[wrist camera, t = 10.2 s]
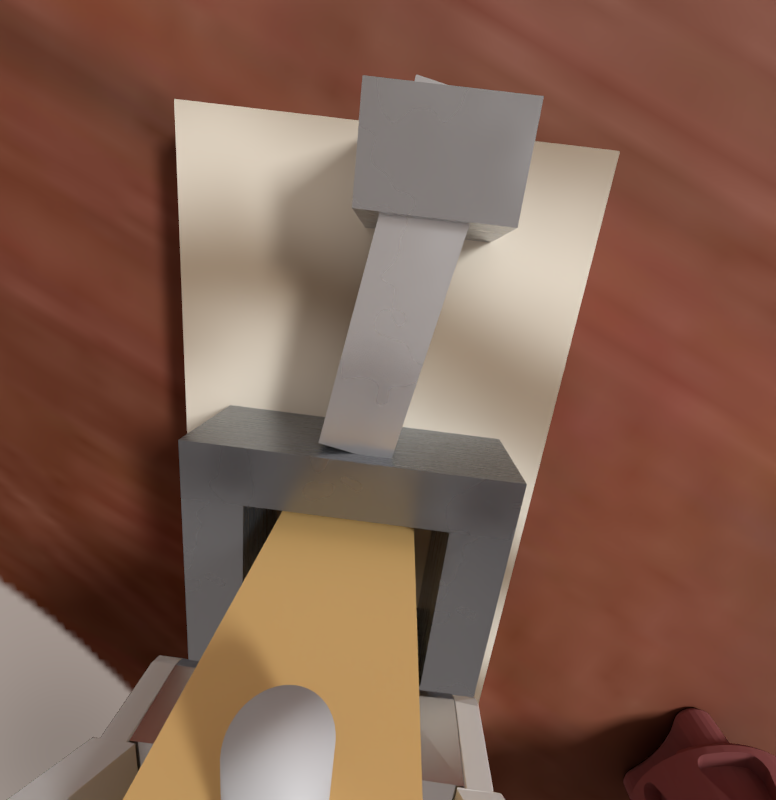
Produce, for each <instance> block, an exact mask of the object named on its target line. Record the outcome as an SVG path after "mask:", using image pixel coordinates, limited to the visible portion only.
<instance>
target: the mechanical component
mask: <svg viewBox="0 0 776 800" xmlns="http://www.w3.org/2000/svg"><path fill="white" fill-rule="evenodd" d="M623 783H624V786H625V788H626V791H627V793H628V795H629V798H630V800H776V756H774V755H772V754H770V753H767V752H765V751H763V750H760V749H757V748H753V747H750V746H746V745H739V744H732V743H729V742H728V740H727V739H726V738H725V736H724V735H723V733H722V732H721V730H720V729H719V728H718V726H717V725H716V723H715V722H714V721H713V719H712V718H711V716H710V715H709V714H708V713H707V712H705V711H702V710H699V709H696V708H689V709H685V710H682V711H681V712H679V713H678V714H677V715H676V717H675V719H674V722H673V725H672V728H671V730H670V732H669V734H668V736H667V738H666V739H665V741H664V742H663V743H662V745H661V746H660V747H659V748H658V749H657V750H656V751H655V752H654V753H653V754H652V755H651V756H650V757H649V758H647V759H646V760H645V761H644V762H642V763H641V764H639V765H637V766H636V767H634V768H633V769H631V770H629V771H628V772H627V773H626V775H625V777H624V780H623Z"/></svg>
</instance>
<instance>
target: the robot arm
mask: <svg viewBox="0 0 776 800" xmlns="http://www.w3.org/2000/svg"><path fill="white" fill-rule="evenodd" d="M198 663H199V661H195V660H189V659H183V658H177V657H169V656H162V655H159V656H158V657H157V658H156V659H155V660H154V661H153V662H152V663H151V664H150V666H149V667H148V668H147V670H146V671H145V673H144V674H143V676H142V677H141V679H140V680H139V682H138V683H137V685H136V686H135V687H134V689H133V690H132V692H131V693H130V695H129V696H128V698H127V699H126V701H125V702H124V704H123V705H122V706H121V708H120V709H119V711H118V712H117V714H116V715H115V717H114V718H113V720H112V721H111V723H110V724H109V726H108V727H107V729H106V730H105V731H104V733H103V734H102V736H101V737H100V738H94V737H92V738H91V739H90V740H88V741H87V742H86V743H84V744H83V745H81V746H80V747H79V748H77V749H76V750H74V751H73V752H72V753H70V754H69V755H68V756H66V757H65V758H63V759H62V760H61V761H59V762H58V763H57V764H55V765H54V766H52V767H51V768H50V769H48V770H47V771H46V772H44V773H43V774H41V775H40V776H39V777H37V778H36V779H35V780H33V781H32V782H30V783H29V784H28V785H26V786H25V787H24V788H22V789H21V790H19V791H18V792H17V793H16V794H14V795H13V796H11V797H10V798H9V799H7V800H123V798H124V796H125V794H126V793H127V791H128V789H129V787H130V785H131V784H132V782H133V780H134V778H135V776H136V775H137V773H138V771H139V769H140V767H141V766H142V764H143V762H144V760H145V758H146V757H147V755H148V753H149V751H150V749H151V748H152V746H153V744H154V742H155V740H156V738H157V737H158V735H159V733H160V731H161V729H162V728H163V726H164V724H165V722H166V720H167V719H168V717H169V715H170V713H171V711H172V710H173V708H174V706H175V704H176V702H177V701H178V699H179V697H180V695H181V693H182V692H183V690H184V688H185V686H186V684H187V682H188V681H189V679H190V677H191V675H192V673H193V672H194V670H195V668H196V666H197V664H198ZM419 703H420V735H421V766H422V797H423V800H505V799H504V797H503V795H502V794H501V793H497V792H494V791H493V785H492V779H491V774H490V768H489V762H488V757H487V751H486V745H485V740H484V734H483V728H482V723H481V717H480V711H479V706H478V702H477V700H476V698H474V697H467V696H458V695H452V694H449V693H441V692H432V691H423V690H419Z"/></svg>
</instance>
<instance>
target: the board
mask: <svg viewBox="0 0 776 800" xmlns="http://www.w3.org/2000/svg"><path fill="white" fill-rule="evenodd" d="M174 107H175V133H176V159H177V184H178V210H179V236H180V261H181V287H182V313H183V339H184V364H185V390H186V416H187V434H188V433H189V432H191V431H192V430H194V429H195V428H197V427H198V426H200V425H201V424H203V423H204V422H206V421H207V420H209V419H210V418H212V417H213V416H215V415H216V414H218V413H219V412H221V411H222V410H224V409H225V408H227V407H228V406H230V405H233V406H241V407H249V408H257V409H265V410H273V411H281V412H289V413H297V414H305V415H312V416H320V417H325V416H326V412H327V409H328V405H329V401H330V397H331V394H332V390H333V386H334V382H335V379H336V375H337V371H338V367H339V364H340V360H341V356H342V352H343V348H344V345H345V341H346V337H347V333H348V330H349V326H350V322H351V318H352V315H353V311H354V307H355V303H356V300H357V296H358V292H359V288H360V284H361V281H362V277H363V273H364V269H365V266H366V262H367V258H368V254H369V251H370V247H371V243H372V239H373V236H374V232H375V229H372V228H365V226H364V225H363V223H362V222H361V221H360V219H359V218H358V216H357V215H356V213H355V212H354V210H353V209H352V200H353V188H354V176H355V163H356V151H357V139H358V126H359V121H358V120H349V119H341V118H332V117H324V116H315V115H307V114H298V113H289V112H281V111H272V110H264V109H255V108H247V107H238V106H230V105H221V104H212V103H204V102H195V101H187V100H178V99H174ZM619 153H620V151H614V150H606V149H597V148H589V147H580V146H572V145H563V144H555V143H546V142H537V141H535V143H534V148H533V153H532V158H531V163H530V168H529V173H528V178H527V183H526V188H525V193H524V198H523V203H522V209H521V214H520V219H519V224H518V228H517V229H515V230H513V231H511V232H509V233H507V234H505V235H504V236H502V237H500V238H498V239H496V240H494V241H492V242H491V243H489V242H480V241H472V240H464V243H463V246H462V249H461V252H460V255H459V258H458V261H457V264H456V267H455V270H454V273H453V276H452V279H451V282H450V285H449V288H448V291H447V294H446V297H445V300H444V303H443V306H442V309H441V312H440V315H439V318H438V321H437V324H436V327H435V330H434V333H433V336H432V339H431V342H430V345H429V348H428V351H427V354H426V357H425V360H424V363H423V366H422V369H421V372H420V375H419V378H418V381H417V384H416V387H415V390H414V393H413V396H412V399H411V402H410V405H409V408H408V411H407V414H406V417H405V420H404V423H403V426H402V427H407V428H415V429H423V430H431V431H439V432H447V433H455V434H462V435H470V436H478V437H486V438H494V439H500V441H501V443H502V444H503V446H504V448H505V449H506V451H507V452H508V454H509V456H510V457H511V459H512V461H513V462H514V464H515V466H516V467H517V469H518V470H519V472H520V474H521V475H522V477H523V479H524V480H525V482H526V484H527V486H526V490H525V494H524V498H523V502H522V506H521V510H520V514H519V518H518V522H517V526H516V530H515V534H514V538H513V542H512V546H511V550H510V554H509V558H508V562H507V566H506V570H505V574H504V578H503V582H502V586H501V590H500V594H499V598H498V602H497V606H496V610H495V614H494V618H493V622H492V626H491V630H490V634H489V638H488V642H487V646H486V650H485V654H484V658H483V662H482V666H481V670H480V674H479V678H478V682H477V686H476V690H475V694H474V698H476V700H477V702H478V703H479V699H480V696H481V692H482V688H483V684H484V680H485V676H486V672H487V668H488V664H489V660H490V656H491V653H492V649H493V645H494V641H495V637H496V633H497V629H498V625H499V621H500V617H501V614H502V610H503V606H504V602H505V598H506V594H507V590H508V586H509V582H510V578H511V574H512V571H513V567H514V563H515V559H516V555H517V551H518V547H519V543H520V539H521V535H522V532H523V528H524V524H525V520H526V516H527V512H528V508H529V504H530V500H531V496H532V492H533V489H534V485H535V481H536V477H537V473H538V469H539V465H540V461H541V457H542V453H543V450H544V446H545V442H546V438H547V434H548V430H549V426H550V422H551V418H552V414H553V410H554V407H555V403H556V399H557V395H558V391H559V387H560V383H561V379H562V375H563V371H564V368H565V364H566V360H567V356H568V352H569V348H570V344H571V340H572V336H573V332H574V329H575V325H576V321H577V317H578V313H579V309H580V305H581V301H582V297H583V293H584V289H585V286H586V282H587V278H588V274H589V270H590V266H591V262H592V258H593V254H594V250H595V247H596V243H597V239H598V235H599V231H600V227H601V223H602V219H603V215H604V211H605V207H606V204H607V200H608V196H609V192H610V188H611V184H612V180H613V176H614V172H615V168H616V165H617V161H618V157H619ZM281 513H282V511H280V510H277V520H278V518H279V516H280V514H281ZM430 534H431V530H426V529H419V528H414V547H415V578H416V608H418V603H419V597H420V591H421V585H422V580H423V574H424V568H425V563H426V557H427V551H428V545H429V540H430Z"/></svg>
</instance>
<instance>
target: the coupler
mask: <svg viewBox="0 0 776 800" xmlns="http://www.w3.org/2000/svg"><path fill="white" fill-rule="evenodd" d="M123 800H423V797H422V766H421V735H420V703H419V672H418V641H417V610H416V578H415V547H414V528H411V527H403V526H396V525H388V524H380V523H373V522H365V521H357V520H349V519H342V518H334V517H326V516H319V515H311V514H303V513H296V512H288V511H282V513H281V514H280V516H279V518H278V520H277V522H276V524H275V525H274V527H273V529H272V531H271V533H270V534H269V536H268V538H267V540H266V542H265V543H264V545H263V547H262V549H261V551H260V552H259V554H258V556H257V558H256V560H255V561H254V563H253V565H252V567H251V569H250V570H249V572H248V574H247V576H246V578H245V580H244V581H243V583H242V585H241V587H240V589H239V590H238V592H237V594H236V596H235V598H234V599H233V601H232V603H231V605H230V607H229V608H228V610H227V612H226V614H225V616H224V617H223V619H222V621H221V623H220V625H219V626H218V628H217V630H216V632H215V634H214V636H213V637H212V639H211V641H210V643H209V645H208V646H207V648H206V650H205V652H204V654H203V655H202V657H201V659H200V661H199V663H198V664H197V666H196V668H195V670H194V672H193V673H192V675H191V677H190V679H189V681H188V682H187V684H186V686H185V688H184V690H183V692H182V693H181V695H180V697H179V699H178V701H177V702H176V704H175V706H174V708H173V710H172V711H171V713H170V715H169V717H168V719H167V720H166V722H165V724H164V726H163V728H162V729H161V731H160V733H159V735H158V737H157V738H156V740H155V742H154V744H153V746H152V748H151V749H150V751H149V753H148V755H147V757H146V758H145V760H144V762H143V764H142V766H141V767H140V769H139V771H138V773H137V775H136V776H135V778H134V780H133V782H132V784H131V785H130V787H129V789H128V791H127V793H126V794H125V796H124V798H123Z"/></svg>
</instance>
